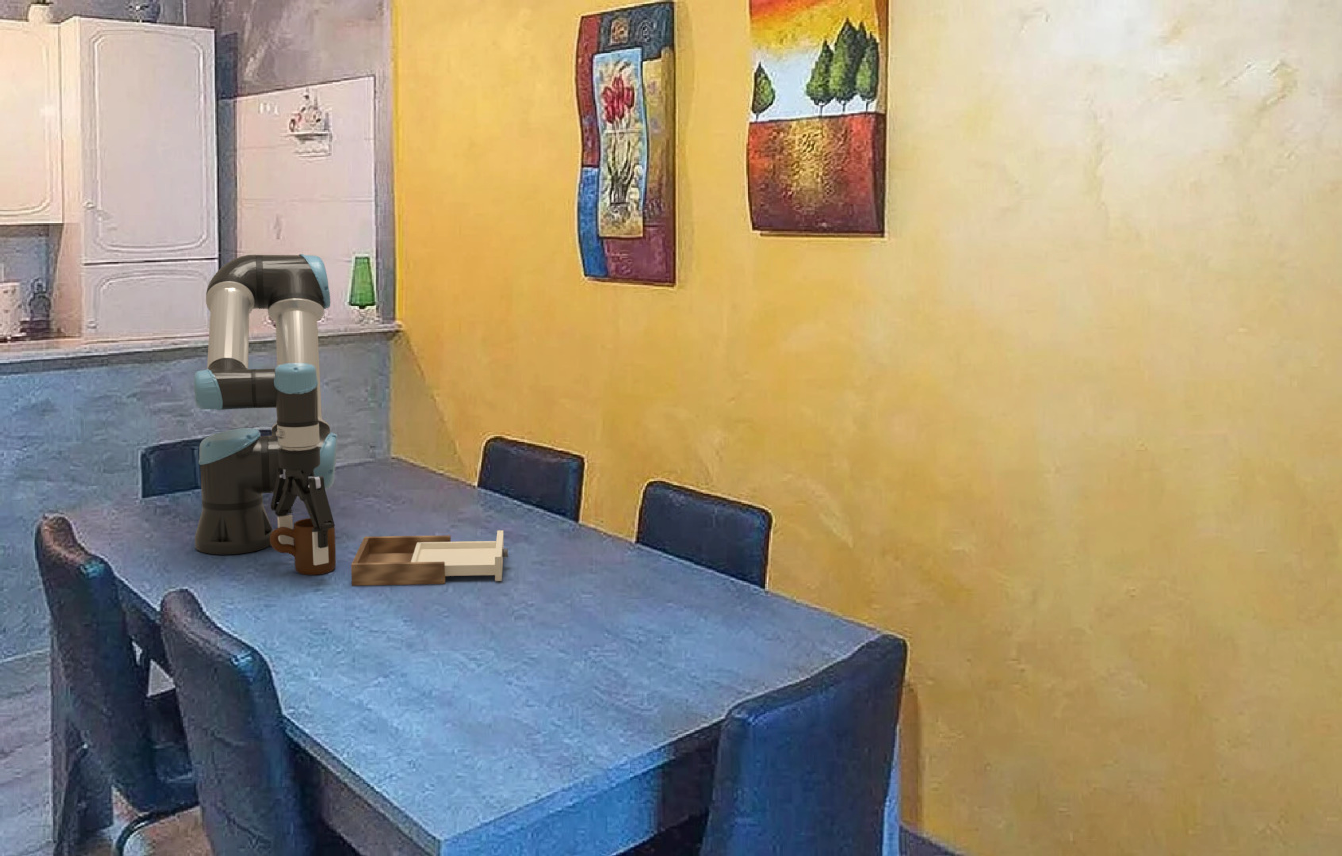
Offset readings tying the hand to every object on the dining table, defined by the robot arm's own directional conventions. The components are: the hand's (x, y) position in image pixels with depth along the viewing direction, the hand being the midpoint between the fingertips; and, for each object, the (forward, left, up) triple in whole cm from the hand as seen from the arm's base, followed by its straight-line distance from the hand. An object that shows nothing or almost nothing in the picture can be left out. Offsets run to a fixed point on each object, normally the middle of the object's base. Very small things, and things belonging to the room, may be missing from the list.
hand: (303, 556), depth 228 cm
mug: (0, 0, -3) cm, 3 cm away
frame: (+12, +16, -3) cm, 20 cm away
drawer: (+18, +24, -3) cm, 30 cm away
